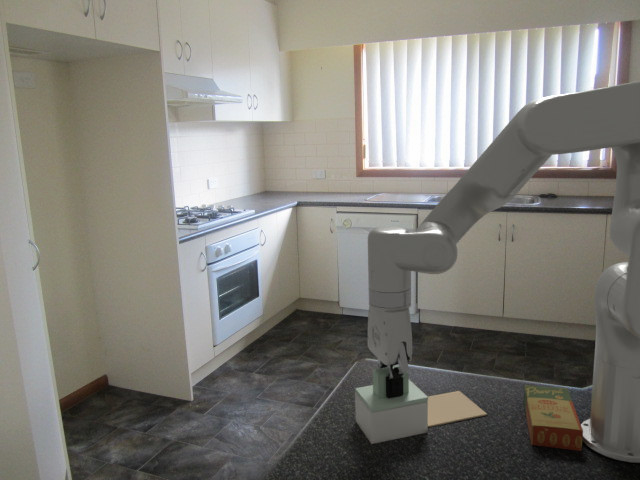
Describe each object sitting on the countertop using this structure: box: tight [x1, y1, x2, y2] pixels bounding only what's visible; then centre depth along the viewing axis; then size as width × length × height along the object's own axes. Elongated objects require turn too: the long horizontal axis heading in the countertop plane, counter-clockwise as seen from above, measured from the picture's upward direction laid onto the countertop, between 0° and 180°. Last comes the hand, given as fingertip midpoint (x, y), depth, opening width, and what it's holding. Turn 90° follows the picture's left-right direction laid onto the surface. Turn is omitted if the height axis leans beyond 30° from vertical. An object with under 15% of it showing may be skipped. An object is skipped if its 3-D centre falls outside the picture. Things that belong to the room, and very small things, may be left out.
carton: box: [522, 384, 583, 452], centre depth 98 cm, size 8×16×4 cm, turn 164°
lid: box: [354, 365, 428, 412], centre depth 97 cm, size 11×8×6 cm
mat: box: [427, 390, 488, 428], centre depth 105 cm, size 13×10×1 cm
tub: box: [354, 391, 429, 445], centre depth 98 cm, size 11×8×6 cm
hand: (390, 391), depth 98 cm, fingers closed on lid, 2 cm apart
